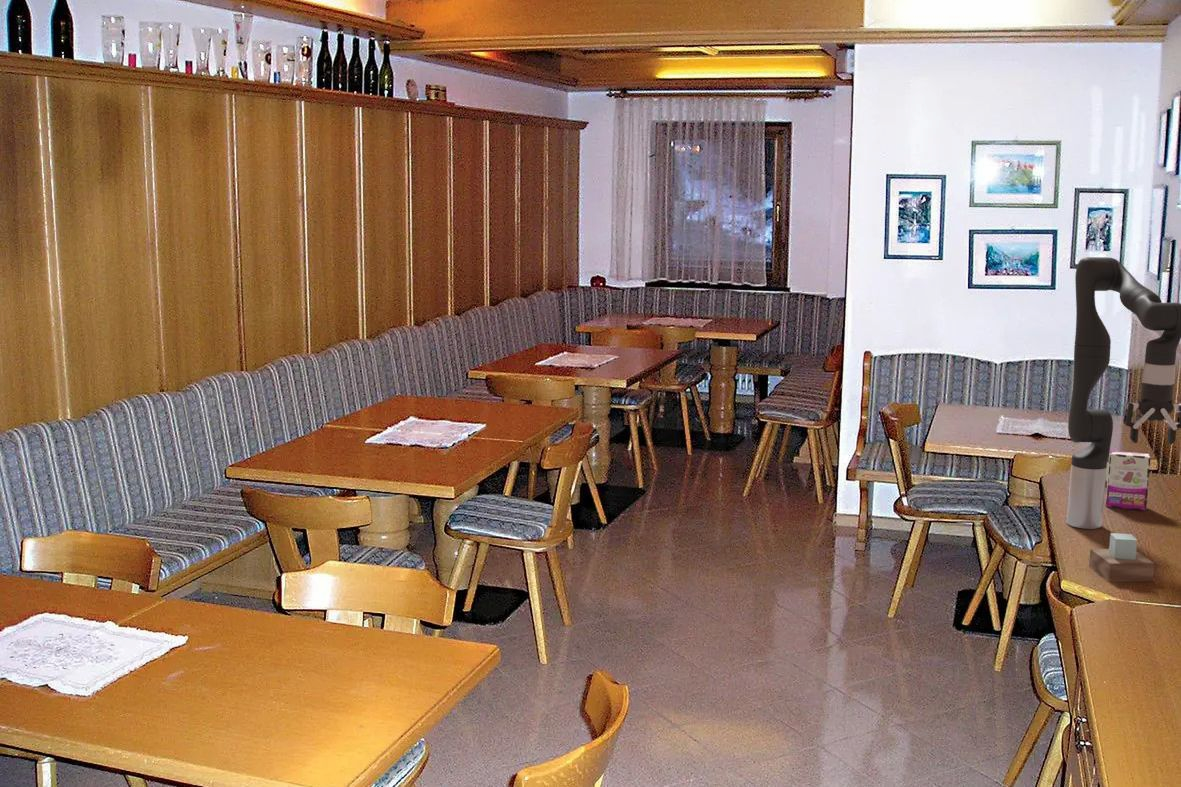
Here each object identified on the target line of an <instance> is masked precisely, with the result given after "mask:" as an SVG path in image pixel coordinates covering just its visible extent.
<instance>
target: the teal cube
mask: <svg viewBox="0 0 1181 787" xmlns="http://www.w3.org/2000/svg"><path fill="white" fill-rule="evenodd" d="M1137 546H1138V539H1137V538H1136V537H1135V536H1134V535H1133V534H1132V533H1131V534H1130V533H1116V532H1115V533H1113V532H1110V536H1109V545H1108V549H1109V553H1110V554H1111V555H1112V557H1113V558H1114V559H1131V560H1135V559H1136V551H1137V548H1138V547H1137Z"/></svg>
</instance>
